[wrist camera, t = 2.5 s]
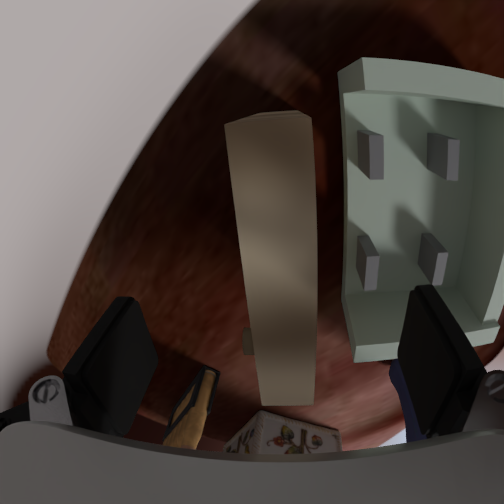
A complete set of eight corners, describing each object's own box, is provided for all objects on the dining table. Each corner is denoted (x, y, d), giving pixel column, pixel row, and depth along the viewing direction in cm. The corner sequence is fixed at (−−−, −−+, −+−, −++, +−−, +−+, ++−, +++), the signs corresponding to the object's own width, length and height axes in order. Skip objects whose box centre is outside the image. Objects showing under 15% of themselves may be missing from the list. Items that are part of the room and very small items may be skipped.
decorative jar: (343, 429, 33) (348, 561, 17) (295, 462, 38) (288, 569, 23) (257, 405, 32) (235, 557, 16) (220, 443, 37) (196, 557, 21)
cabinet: (337, 72, 17) (362, 57, 11) (479, 86, 15) (540, 90, 9) (341, 299, 24) (353, 362, 18) (458, 290, 23) (493, 342, 17)
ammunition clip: (204, 364, 30) (172, 469, 19) (221, 371, 30) (195, 477, 19) (172, 408, 34) (145, 491, 24) (186, 414, 35) (161, 497, 24)
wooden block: (244, 114, 19) (189, 129, 8) (297, 110, 19) (311, 117, 8) (261, 275, 24) (240, 405, 14) (306, 274, 24) (313, 404, 13)
